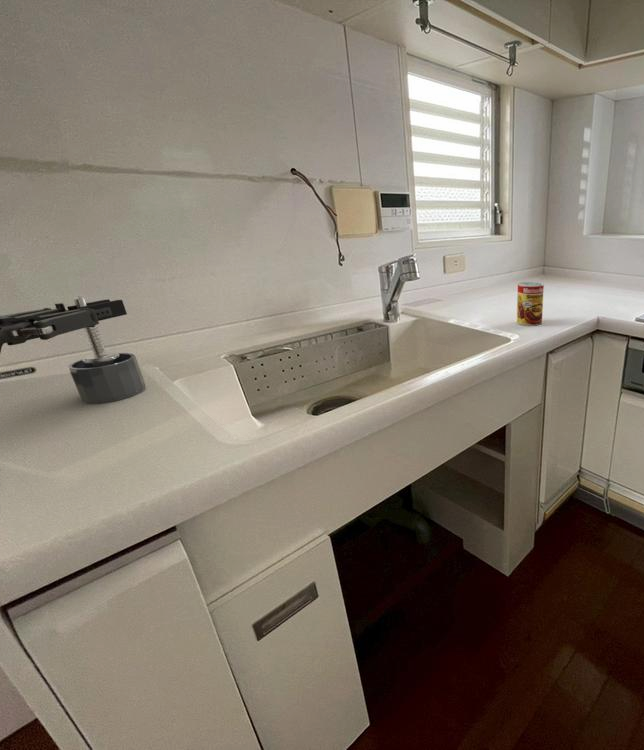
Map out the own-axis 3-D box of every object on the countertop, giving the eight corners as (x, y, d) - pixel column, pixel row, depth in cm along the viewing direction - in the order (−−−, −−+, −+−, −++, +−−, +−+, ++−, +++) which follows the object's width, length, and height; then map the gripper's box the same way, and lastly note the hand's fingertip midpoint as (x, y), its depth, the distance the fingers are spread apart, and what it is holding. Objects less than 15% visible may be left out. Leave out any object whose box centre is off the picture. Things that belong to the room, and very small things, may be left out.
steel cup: (69, 400, 72) (54, 366, 69) (124, 382, 80) (112, 351, 77) (104, 406, 70) (90, 371, 67) (157, 387, 77) (146, 355, 75)
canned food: (526, 327, 121) (528, 286, 117) (512, 321, 127) (512, 283, 123) (547, 323, 125) (549, 284, 120) (531, 318, 131) (533, 281, 127)
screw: (125, 361, 76) (120, 369, 72) (90, 366, 73) (83, 374, 70) (100, 292, 71) (93, 296, 67) (62, 295, 69) (53, 299, 65)
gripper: (-95, 368, 54) (87, 325, 76) (1, 372, 53) (159, 327, 75) (-127, 314, 52) (72, 285, 73) (-26, 316, 50) (146, 287, 72)
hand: (116, 307), depth 74 cm, fingers closed on screw, 2 cm apart
